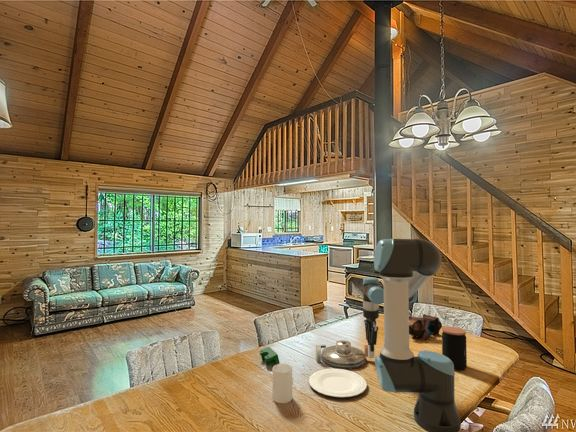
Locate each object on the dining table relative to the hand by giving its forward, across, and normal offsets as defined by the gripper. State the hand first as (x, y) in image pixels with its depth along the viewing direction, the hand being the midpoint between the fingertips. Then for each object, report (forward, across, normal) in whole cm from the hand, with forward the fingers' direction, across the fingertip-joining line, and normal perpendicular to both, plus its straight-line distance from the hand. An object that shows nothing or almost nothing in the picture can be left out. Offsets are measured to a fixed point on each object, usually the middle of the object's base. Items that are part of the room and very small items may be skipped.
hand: (371, 357), depth 158 cm
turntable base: (+5, +10, +12) cm, 16 cm away
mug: (+5, -22, +47) cm, 52 cm away
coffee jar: (+5, -4, -41) cm, 41 cm away
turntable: (+3, +9, +10) cm, 14 cm away
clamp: (+5, +10, +50) cm, 51 cm away
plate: (+5, -16, +21) cm, 27 cm away
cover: (+2, +10, +11) cm, 15 cm away
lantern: (+5, +38, -46) cm, 60 cm away
